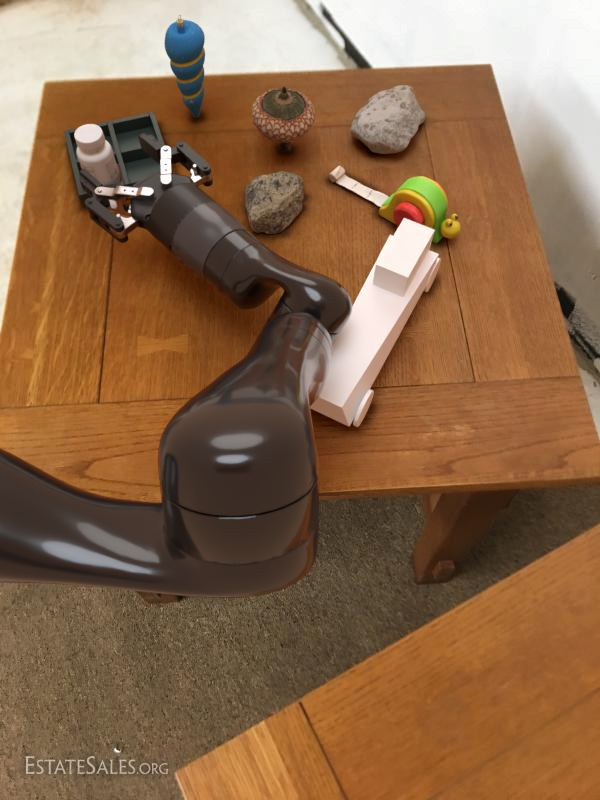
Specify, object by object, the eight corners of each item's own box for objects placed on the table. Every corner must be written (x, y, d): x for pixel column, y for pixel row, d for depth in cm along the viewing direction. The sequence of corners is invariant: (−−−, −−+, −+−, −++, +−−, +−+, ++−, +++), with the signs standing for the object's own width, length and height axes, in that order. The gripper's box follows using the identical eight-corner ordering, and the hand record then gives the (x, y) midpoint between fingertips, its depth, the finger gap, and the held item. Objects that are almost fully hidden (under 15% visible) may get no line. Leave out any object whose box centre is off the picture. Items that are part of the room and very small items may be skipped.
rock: (307, 233, 83) (308, 207, 79) (246, 236, 83) (244, 210, 79) (303, 192, 86) (303, 165, 82) (244, 195, 86) (242, 168, 82)
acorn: (242, 148, 90) (236, 83, 81) (286, 120, 93) (285, 55, 84) (281, 180, 87) (280, 117, 78) (326, 151, 90) (329, 87, 81)
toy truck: (388, 254, 81) (399, 200, 73) (440, 275, 80) (457, 223, 72) (295, 411, 71) (295, 369, 63) (353, 438, 70) (361, 399, 62)
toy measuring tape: (440, 262, 81) (452, 225, 75) (318, 189, 86) (320, 149, 81) (467, 231, 83) (480, 193, 77) (347, 162, 89) (351, 122, 83)
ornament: (219, 109, 94) (207, 5, 80) (207, 133, 91) (192, 30, 78) (185, 102, 94) (167, -2, 81) (173, 126, 92) (152, 23, 79)
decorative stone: (428, 162, 89) (436, 132, 85) (350, 162, 89) (353, 132, 84) (421, 102, 95) (427, 71, 90) (347, 102, 95) (350, 70, 90)
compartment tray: (83, 208, 85) (78, 195, 83) (68, 144, 90) (63, 130, 88) (177, 186, 86) (174, 173, 84) (156, 125, 92) (153, 111, 90)
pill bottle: (116, 165, 87) (101, 117, 80) (124, 188, 85) (109, 140, 78) (84, 174, 86) (66, 125, 80) (91, 196, 85) (73, 149, 78)
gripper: (246, 175, 71) (154, 102, 76) (143, 245, 66) (51, 162, 71) (250, 223, 77) (165, 153, 83) (156, 290, 73) (72, 211, 78)
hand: (112, 157), depth 77 cm, fingers open, 8 cm apart
